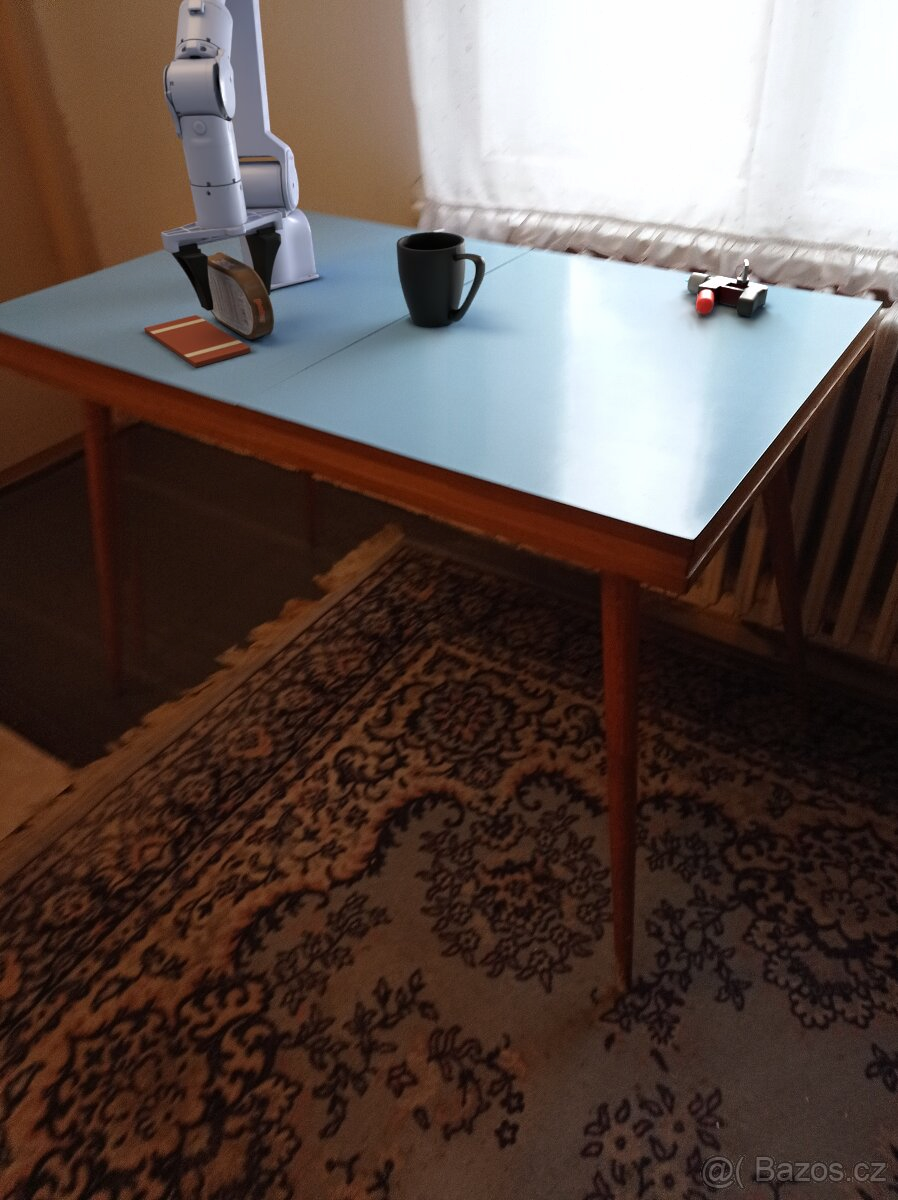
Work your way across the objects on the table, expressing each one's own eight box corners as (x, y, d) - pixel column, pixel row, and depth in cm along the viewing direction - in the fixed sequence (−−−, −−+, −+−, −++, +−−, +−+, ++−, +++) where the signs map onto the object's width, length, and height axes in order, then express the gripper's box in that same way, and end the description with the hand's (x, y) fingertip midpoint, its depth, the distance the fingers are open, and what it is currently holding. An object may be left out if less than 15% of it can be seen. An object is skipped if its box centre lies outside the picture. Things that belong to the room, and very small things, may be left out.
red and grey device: (690, 286, 121) (694, 249, 118) (774, 304, 114) (782, 265, 111) (651, 306, 115) (655, 267, 112) (738, 326, 109) (745, 286, 106)
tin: (280, 343, 109) (269, 271, 104) (256, 349, 107) (245, 277, 102) (224, 311, 119) (212, 244, 114) (202, 316, 117) (189, 249, 112)
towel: (196, 319, 116) (195, 314, 116) (251, 352, 107) (250, 347, 106) (145, 332, 113) (143, 327, 113) (196, 367, 103) (194, 362, 103)
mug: (458, 343, 107) (456, 260, 101) (387, 321, 114) (381, 243, 108) (503, 323, 112) (503, 244, 106) (432, 303, 118) (429, 227, 113)
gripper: (169, 198, 96) (195, 323, 105) (289, 176, 103) (304, 295, 111) (144, 187, 101) (170, 308, 109) (260, 166, 108) (276, 282, 116)
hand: (236, 301), depth 111 cm, fingers open, 7 cm apart
